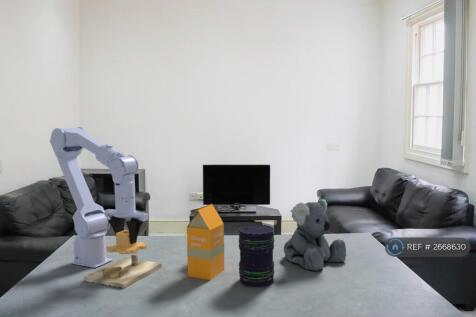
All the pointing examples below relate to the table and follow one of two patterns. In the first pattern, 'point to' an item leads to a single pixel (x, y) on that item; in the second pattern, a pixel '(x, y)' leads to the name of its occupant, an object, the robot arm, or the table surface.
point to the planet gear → (125, 244)
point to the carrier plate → (123, 272)
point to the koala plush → (312, 238)
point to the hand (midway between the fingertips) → (126, 242)
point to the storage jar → (256, 255)
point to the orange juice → (205, 244)
